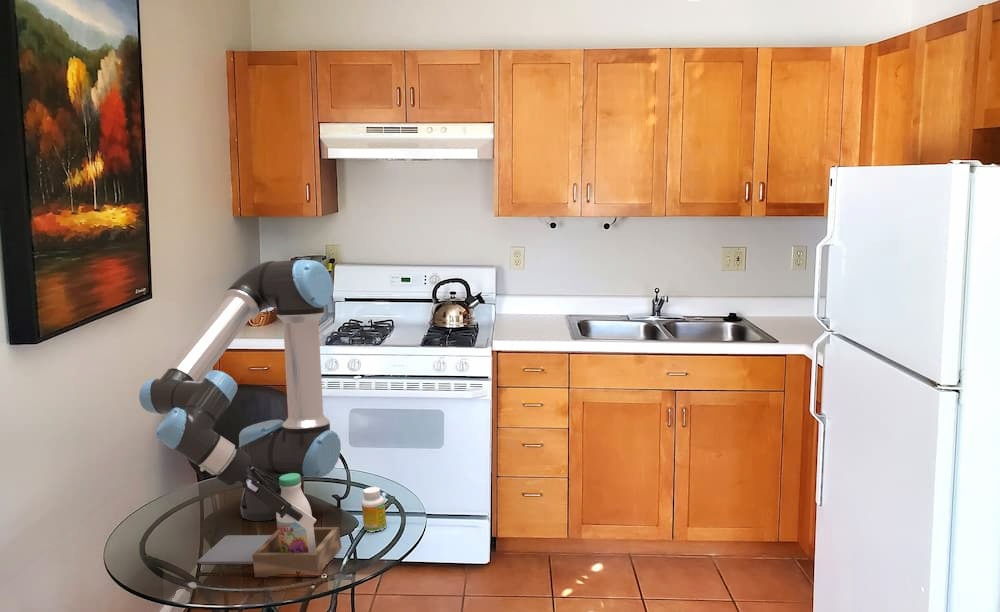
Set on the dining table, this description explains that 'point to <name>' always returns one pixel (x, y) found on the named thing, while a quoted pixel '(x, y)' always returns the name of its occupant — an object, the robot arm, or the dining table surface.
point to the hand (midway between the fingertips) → (308, 516)
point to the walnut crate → (297, 554)
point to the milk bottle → (290, 532)
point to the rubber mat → (234, 549)
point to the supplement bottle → (373, 510)
